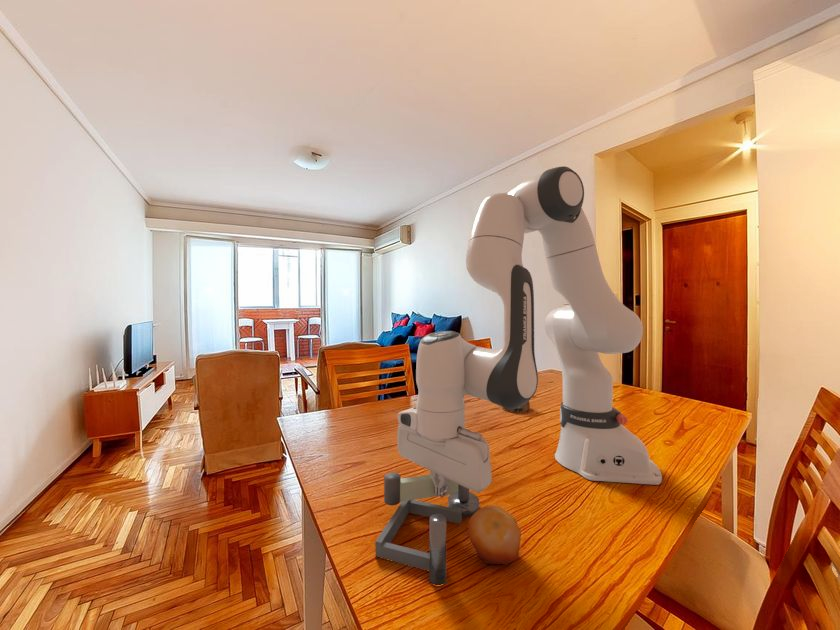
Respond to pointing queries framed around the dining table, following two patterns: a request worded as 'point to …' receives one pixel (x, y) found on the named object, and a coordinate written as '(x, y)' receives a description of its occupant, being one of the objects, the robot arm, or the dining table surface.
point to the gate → (416, 488)
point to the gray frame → (392, 527)
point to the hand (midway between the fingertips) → (440, 494)
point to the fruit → (494, 534)
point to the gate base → (464, 504)
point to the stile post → (437, 549)
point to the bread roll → (520, 408)
